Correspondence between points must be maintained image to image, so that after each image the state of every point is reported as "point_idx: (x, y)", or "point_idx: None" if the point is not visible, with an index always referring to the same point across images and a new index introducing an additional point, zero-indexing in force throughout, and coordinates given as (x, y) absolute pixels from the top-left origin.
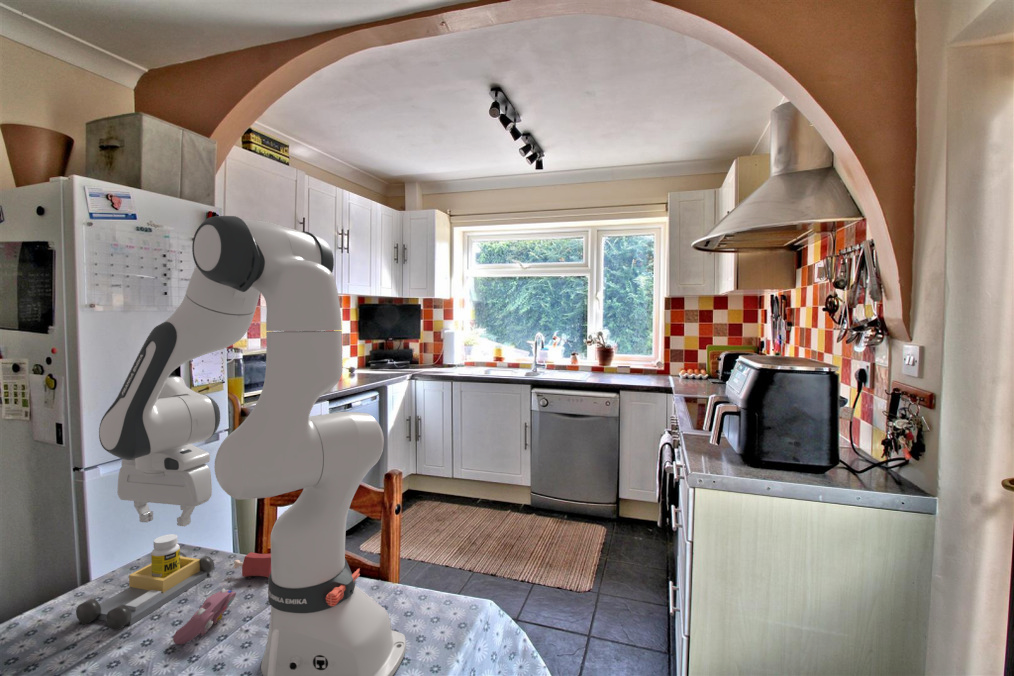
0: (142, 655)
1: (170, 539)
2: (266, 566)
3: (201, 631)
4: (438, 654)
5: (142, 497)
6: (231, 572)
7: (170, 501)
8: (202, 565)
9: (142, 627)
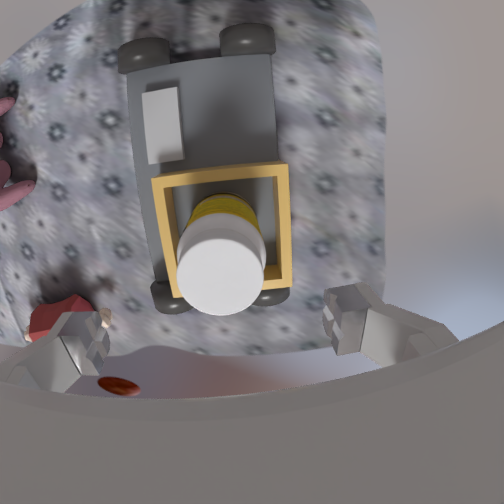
0: (37, 55)
1: (188, 279)
2: (31, 316)
3: None
4: None
5: (386, 402)
6: (131, 306)
7: (23, 403)
8: (166, 288)
9: (102, 86)
